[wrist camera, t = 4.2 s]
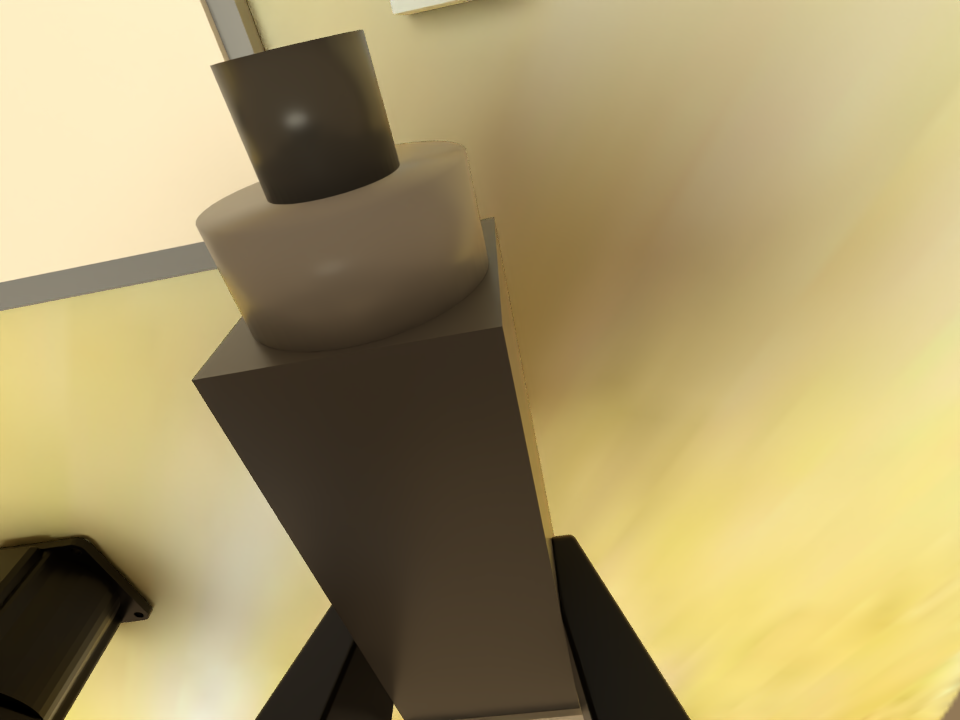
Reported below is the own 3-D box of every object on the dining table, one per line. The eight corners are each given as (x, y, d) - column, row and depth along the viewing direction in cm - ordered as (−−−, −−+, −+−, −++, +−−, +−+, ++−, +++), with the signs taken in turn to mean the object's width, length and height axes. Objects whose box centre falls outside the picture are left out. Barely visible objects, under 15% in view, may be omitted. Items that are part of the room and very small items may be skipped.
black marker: (579, 658, 14) (602, 809, 11) (463, 670, 14) (459, 819, 11) (460, 9, 6) (444, 2, 3) (204, 72, 6) (4, 110, 4)
